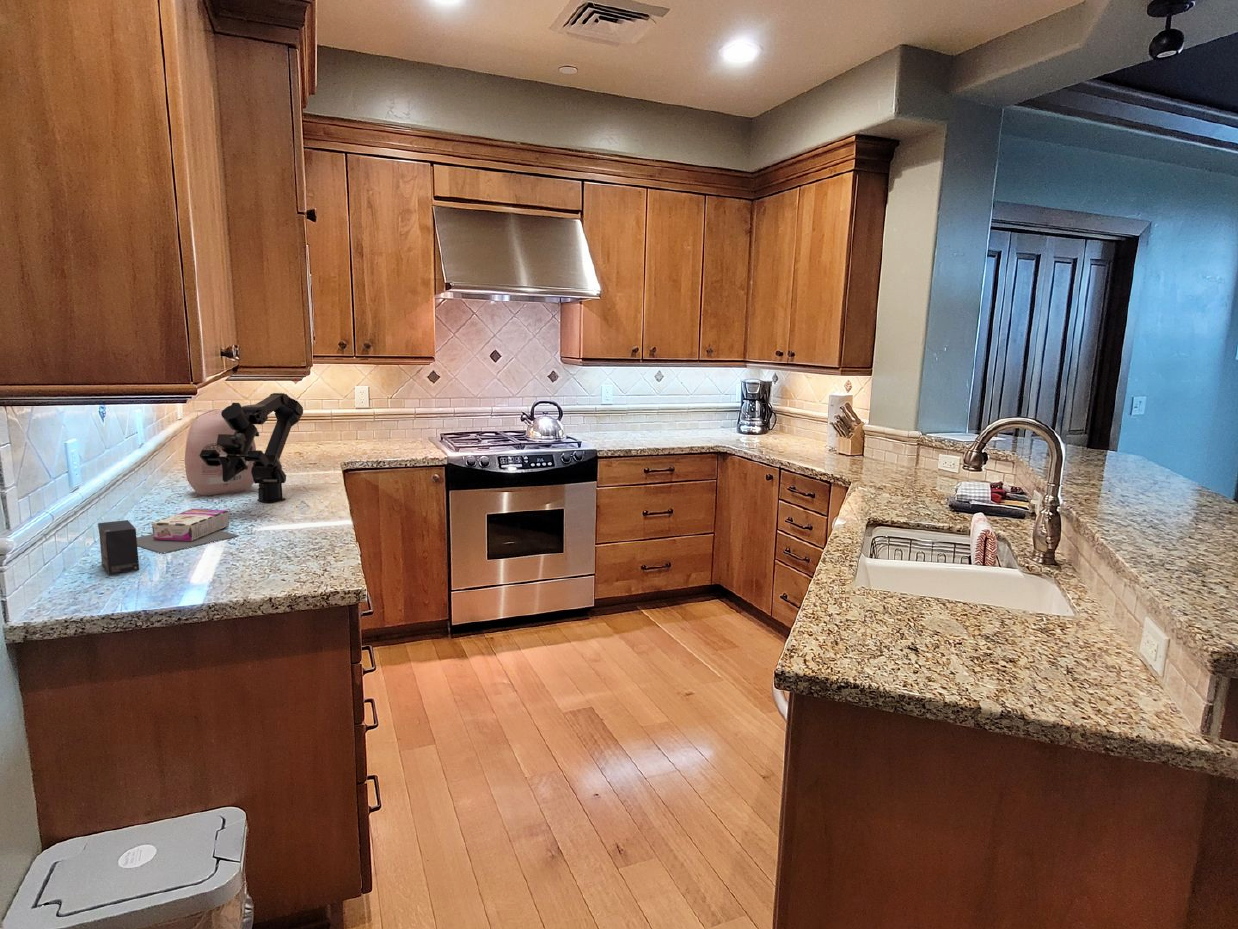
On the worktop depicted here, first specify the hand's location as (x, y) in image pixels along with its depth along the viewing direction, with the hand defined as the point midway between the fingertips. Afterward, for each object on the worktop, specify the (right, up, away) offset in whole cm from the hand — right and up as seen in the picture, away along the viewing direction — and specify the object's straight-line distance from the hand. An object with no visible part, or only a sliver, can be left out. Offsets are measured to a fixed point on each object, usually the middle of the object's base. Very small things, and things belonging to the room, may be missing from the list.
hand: (224, 481), depth 209 cm
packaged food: (-21, -5, +37) cm, 43 cm away
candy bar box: (-1, -10, -6) cm, 12 cm away
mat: (-1, -15, -18) cm, 24 cm away
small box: (-1, -20, -42) cm, 46 cm away
